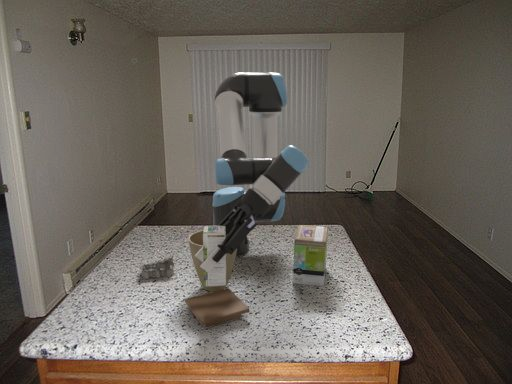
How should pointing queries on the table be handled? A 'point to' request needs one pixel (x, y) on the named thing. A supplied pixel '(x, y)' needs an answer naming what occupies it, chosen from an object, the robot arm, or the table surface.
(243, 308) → the stand
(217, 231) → the syrup box
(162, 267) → the egg carton
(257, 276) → the table surface
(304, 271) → the tea box
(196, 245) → the plant pot
